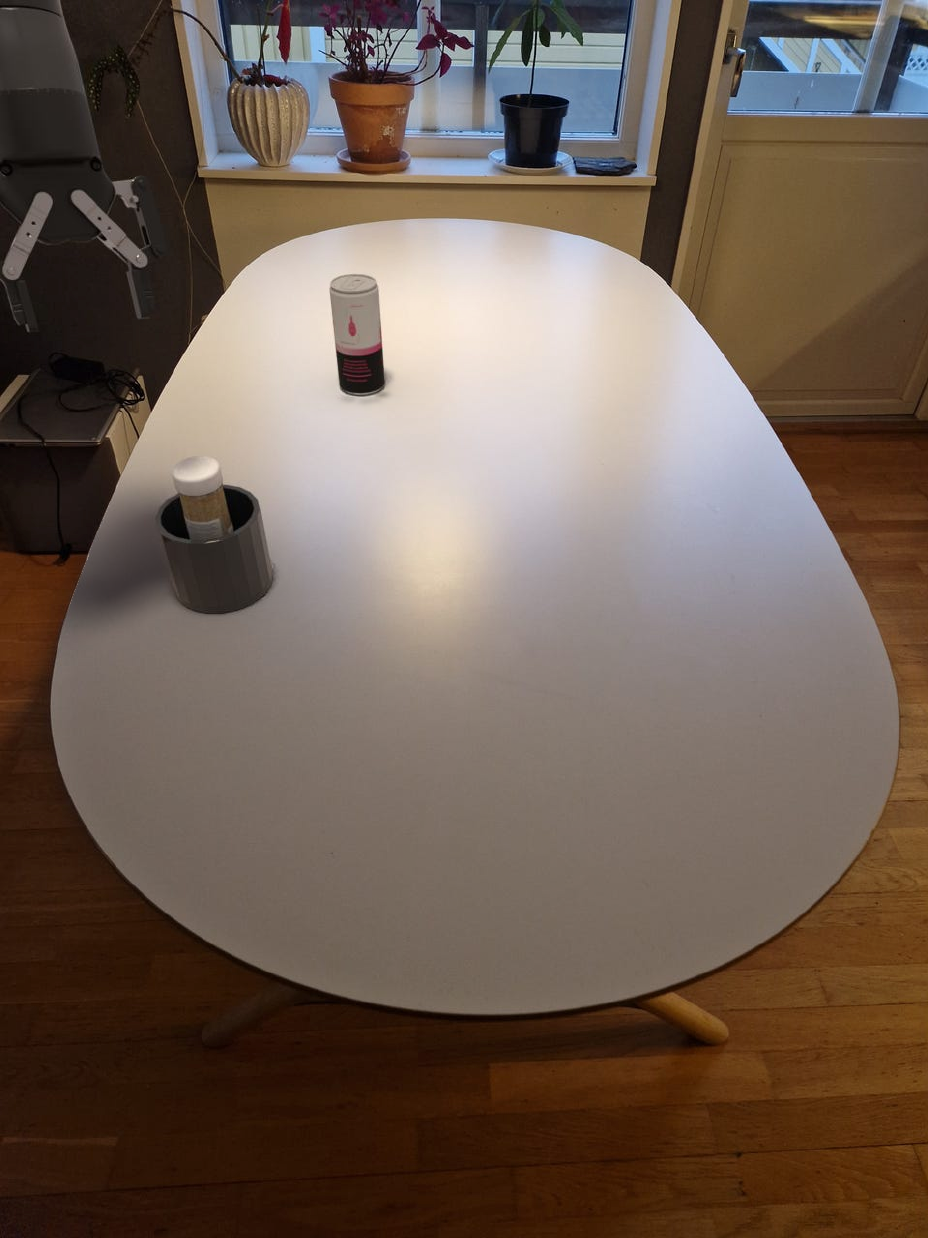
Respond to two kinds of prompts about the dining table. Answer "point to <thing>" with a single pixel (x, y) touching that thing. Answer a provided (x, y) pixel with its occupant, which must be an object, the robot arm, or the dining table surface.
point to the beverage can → (357, 333)
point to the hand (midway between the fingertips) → (90, 324)
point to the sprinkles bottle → (202, 497)
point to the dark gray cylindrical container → (217, 556)
